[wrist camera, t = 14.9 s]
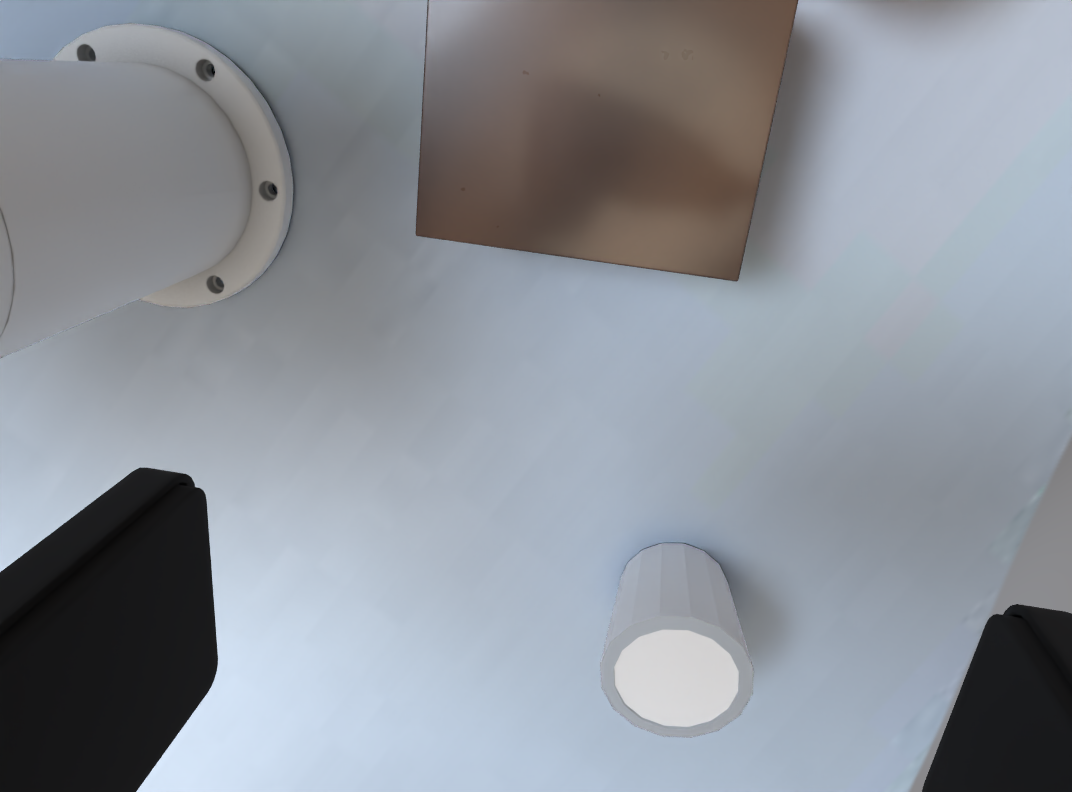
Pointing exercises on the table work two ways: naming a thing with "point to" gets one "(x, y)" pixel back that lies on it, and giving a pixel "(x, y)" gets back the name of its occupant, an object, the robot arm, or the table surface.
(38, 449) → the table surface
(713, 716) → the white short cylinder
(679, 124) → the shelf
